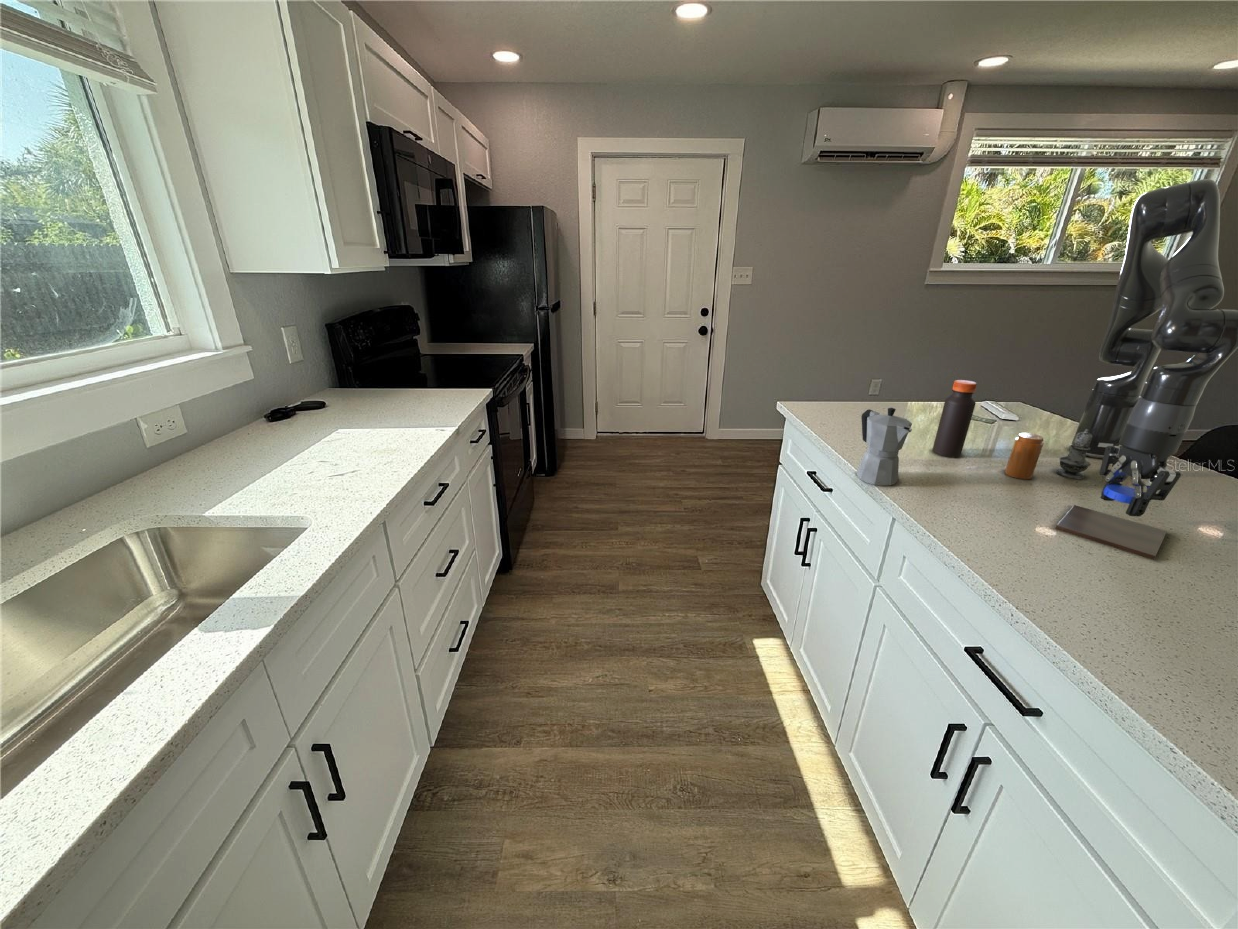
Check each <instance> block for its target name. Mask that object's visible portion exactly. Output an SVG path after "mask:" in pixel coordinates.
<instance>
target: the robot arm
mask: <svg viewBox="0 0 1238 929" xmlns="http://www.w3.org/2000/svg"><path fill="white" fill-rule="evenodd" d="M1132 207H1133V208H1132V209H1131V210H1132V211H1131V214H1130V220H1129V227H1128V234H1127V240H1126V248H1125V255H1124V259H1123V263H1122V267H1121V270H1120V273H1119V277H1118V280H1117V284H1116V287H1115V292H1114V294H1113V302H1112V307H1111V311H1110V312H1111V313H1110V316H1109V321H1108V324H1107V326H1106V330H1105V332H1104V335H1103V338H1102V341H1101V344H1100V346H1099V351H1098V359H1099V361H1100V362H1101V363H1104V364H1107V365H1112V366H1120V367H1129V368H1131V367H1132V368H1133V369H1132V370H1130V371H1129V372H1125V373H1123V374H1119V375H1112V376H1104V377H1100V378H1097V379H1096V380H1095V381H1094V383H1093V386H1092V389H1091V392H1090V394H1089V396H1088V400H1087V402H1086V404H1085V407H1084V410H1083V412H1082V415H1081V418H1080V420H1079V423H1078V425H1077V429H1076V431H1075V434H1074V436H1073V439H1072V441H1071V444H1070V445H1069V450H1071V445H1072V444H1073V443H1074V441H1075V438H1076V435H1077V434H1078V433H1080V432H1085V430H1086V429H1088V433H1090V434H1091V435H1092V440H1091V442H1090V445H1089V448H1090V449H1089V450H1088V451H1087V454H1086V457H1089V458H1095V459H1102V461H1101V464H1100V468H1099V472H1098V473H1099V475H1100V476H1103V477H1104V481H1105V483H1104V486H1103V488H1102V490H1101V495H1100V499H1101V500H1103V501H1107V502H1114V501H1115V500H1114V499H1111V498H1109V497H1107V496H1106V495H1104V493H1103V491H1104V489H1105V488H1106V486H1107V485H1110V484H1113V485H1122V486H1123V482H1124V481H1125V480H1127V478H1128V477H1130V478H1131V484H1132V486H1134V489H1135V497H1132V500H1131V502H1130V504H1128V506H1127V508H1126V510H1125V514H1126V515H1128V516H1129V517H1142V516H1143V515H1145V512H1146V510H1147V509H1148V506H1149V504H1150V502H1151V501H1165V500H1166V498H1167V497H1168V495H1169V494H1170V493H1171V491H1172V490H1173V488H1174V487H1175V485H1176V484H1177V482H1178V481H1179V479H1180V478H1181V477H1182V473H1181V472H1180V471H1175V470H1171V469H1170V468H1168V460H1169V458H1170V457H1171V456H1174V455H1175V454H1177V453H1178V451H1179V448H1180V446H1181V445H1182V442H1183V440H1184V438H1185V436H1186V433H1187V431H1188V429H1189V427H1190V425H1191V423H1192V421H1193V419H1194V416H1195V411H1196V408H1197V405H1198V403H1199V401H1200V399H1201V397H1202V395H1203V393H1204V391H1205V389H1206V387H1207V384H1208V382H1210V380H1211V378H1212V377H1213V376H1214V375H1215V374H1216V373H1217V371H1218V370H1219V369H1220V368H1221V367H1222V366H1223V364H1224V363H1225V362H1226V361H1227V360H1228V359H1229V358H1230V357H1231V356H1232V354H1234V353H1235V352H1236V351H1237V349H1238V310H1237V309H1222V308H1221V309H1217V308H1215V307H1217V306H1218V305H1219V304H1220V303H1221V302H1222V301H1223V299H1224V296H1225V286H1224V282H1223V277H1222V273H1221V269H1220V268H1221V267H1220V264H1219V246H1220V244H1219V243H1220V242H1219V241H1220V226H1221V222H1220V221H1221V219H1220V218H1221V194H1220V188H1219V186H1218V184H1217V182H1216V181H1215V180H1214V179H1211V178H1203V179H1197V180H1191V181H1187V182H1183V183H1182V182H1181V183H1178V184H1173V185H1169V186H1165V187H1164V186H1163V187H1160V188H1155V189H1152V190H1149V191H1147V192H1144V193H1143V194H1141V195H1140V196H1138V198H1137V199H1136V201H1135V202H1134V205H1133V206H1132ZM1189 233H1191V235H1190V236H1189V238H1188V239H1187V240H1186V241H1185V243H1184V244H1183V245H1182V246H1181V247H1180V248H1179V249H1178V250H1177V251H1176V252H1175V253H1174V254H1173V255H1172V256H1171V257H1170V258H1169V259H1168V257H1166V256H1165V255H1163V254H1162V253H1161V252H1159V251H1158V250H1157V249H1156V248H1155V247H1154V245H1153V243H1152V241H1153V240H1157V239H1163V238H1168V237H1174V236H1175V237H1176V236H1180V235H1185V234H1189ZM1157 312H1159V314H1158V317H1157V320H1156V322H1155V324H1154V326H1153V328H1152V329H1146V328H1143V329H1142V328H1132V327H1133V326H1134V325H1136V324H1138V323H1139V322H1141V321H1143V320H1145V319H1147V318H1150V317H1151V316H1154V314H1156V313H1157ZM1161 351H1164V352H1173V353H1174V352H1175V353H1192V354H1193V353H1195V354H1194V355H1193V356H1192V357H1191V358H1189V359H1188V360H1186V361H1183V362H1180V363H1171V364H1163V365H1158V366H1155V367H1154V365H1155V363H1156V361H1157V360H1158V356H1159V355H1160V353H1161ZM1152 368H1153V369H1152ZM1110 465H1111V468H1110V469H1109V467H1110ZM1143 480H1144V481H1143ZM1145 480H1149V481H1145ZM1144 487H1146V491H1144Z"/></svg>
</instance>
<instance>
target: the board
mask: <svg viewBox="0 0 1238 929" xmlns="http://www.w3.org/2000/svg"><path fill="white" fill-rule="evenodd" d="M1054 529H1055V530H1057V531H1061V532H1064V533H1066V534H1070V535H1073V536H1077V537H1080V538H1084V539H1086V540H1089V541H1093V542H1095V543H1099V544H1102V545H1105V546H1109V547H1111V548H1115V549H1119V550H1122V551H1124V552H1127V553H1131V554H1134V555H1137V556H1140V557H1143V558H1147V559H1150V560H1155V558H1156V556H1157V555H1158V552H1159V549H1160V547H1161V545H1162V543H1163V541H1164V539H1165V537H1166V535H1167V530H1166V529H1161V528H1157V527H1155V526H1150V525H1148V524H1144V523H1140V522H1138V521H1134V520H1130V519H1126V518H1123V517H1119V516H1116V515H1111V514H1108V513H1104V512H1101V511H1097V510H1093V509H1091V508H1087V507H1083V506H1079V505H1077V504H1074V505H1073V506H1072V507H1071V508H1070V509H1069V510H1068V511H1067V512H1066V514H1065V515H1064V516H1063V517H1062V519H1061V520H1059V521H1058V523H1057V524H1056V526H1055V528H1054Z"/></svg>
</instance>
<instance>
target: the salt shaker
mask: <svg viewBox="0 0 1238 929" xmlns="http://www.w3.org/2000/svg"><path fill="white" fill-rule="evenodd" d="M1091 440H1092V435H1091V434H1090V433H1088V429H1086V430H1085V432H1080V433H1078V434H1077V435H1076V438H1075V441H1074V443H1073V444H1072V443H1071V444H1072V445H1071V444H1070V445H1071V450H1070V449H1069V450H1070V451H1069V453H1068V454H1067V456H1060V457H1059V458H1058V459H1059V466H1060V467H1061V469H1057V470H1056V471H1055V473H1056V474H1057V475H1058V476H1061V477H1065V478H1068V479H1074V480H1081V479H1082V480H1083V479H1084V477H1085V476H1084V475H1083V474H1082V472H1085V471H1086V470H1087V469H1088V467H1090V466H1091V465H1092V464H1091V463H1090V462H1089V461H1087V460H1086V457H1087V456H1086V454H1087V451H1088V450H1089V449H1090V448H1089V445H1090V442H1091Z"/></svg>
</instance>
